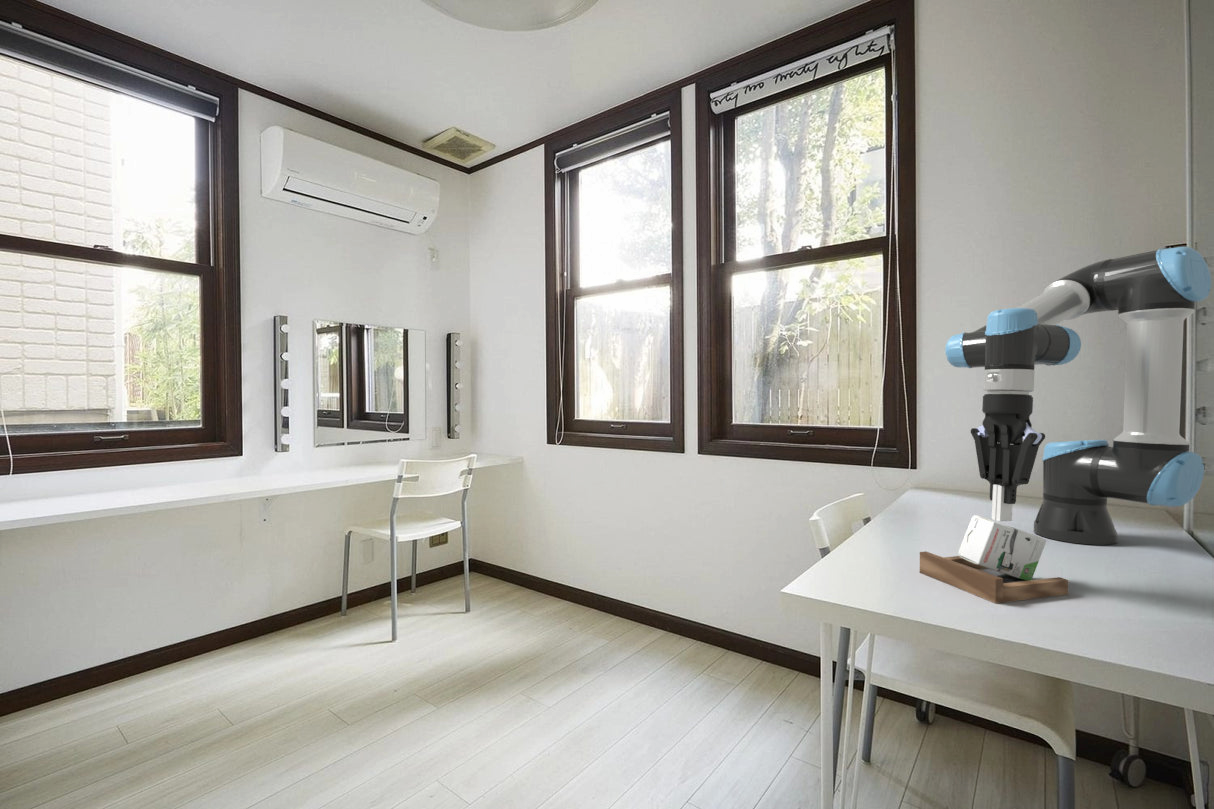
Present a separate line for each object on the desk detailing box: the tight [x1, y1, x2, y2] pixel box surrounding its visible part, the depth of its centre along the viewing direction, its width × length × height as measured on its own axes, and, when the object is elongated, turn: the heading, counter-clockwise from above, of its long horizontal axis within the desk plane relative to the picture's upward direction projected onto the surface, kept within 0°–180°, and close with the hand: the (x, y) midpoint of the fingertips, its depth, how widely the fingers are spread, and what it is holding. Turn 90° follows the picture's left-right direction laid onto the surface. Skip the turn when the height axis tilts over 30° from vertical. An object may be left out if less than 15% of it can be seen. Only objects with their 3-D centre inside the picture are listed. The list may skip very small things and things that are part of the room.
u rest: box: [919, 551, 1069, 604], centre depth 100 cm, size 16×16×4 cm
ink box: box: [957, 514, 1047, 581], centre depth 101 cm, size 9×5×12 cm
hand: (1001, 519), depth 102 cm, fingers closed
